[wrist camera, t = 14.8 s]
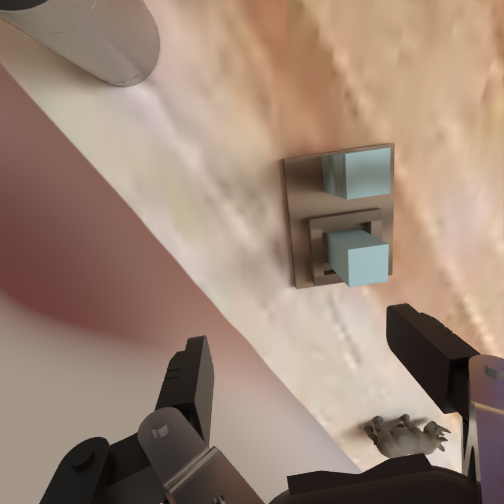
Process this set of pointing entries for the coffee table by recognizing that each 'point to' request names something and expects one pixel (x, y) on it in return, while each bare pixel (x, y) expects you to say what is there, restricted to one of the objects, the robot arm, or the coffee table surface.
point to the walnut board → (337, 205)
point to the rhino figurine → (406, 438)
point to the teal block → (357, 256)
